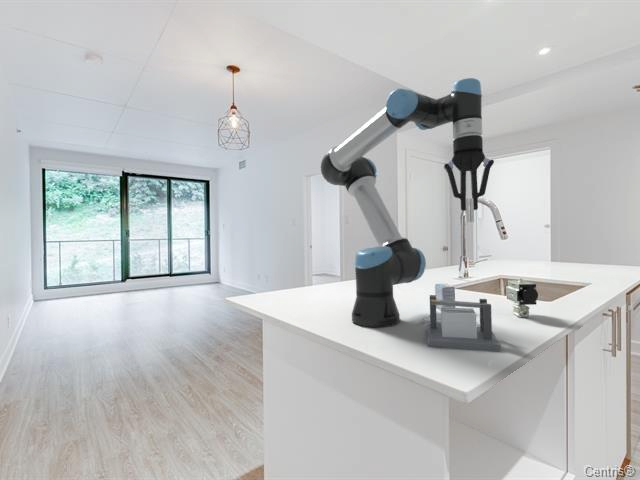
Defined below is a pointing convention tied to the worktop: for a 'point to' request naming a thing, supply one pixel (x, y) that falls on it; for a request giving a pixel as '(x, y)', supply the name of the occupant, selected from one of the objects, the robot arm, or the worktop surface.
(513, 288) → the pneumatic valve
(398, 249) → the robot arm
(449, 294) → the medicine box
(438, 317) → the external hard drive
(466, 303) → the lever
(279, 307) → the worktop surface
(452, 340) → the heatsink base
